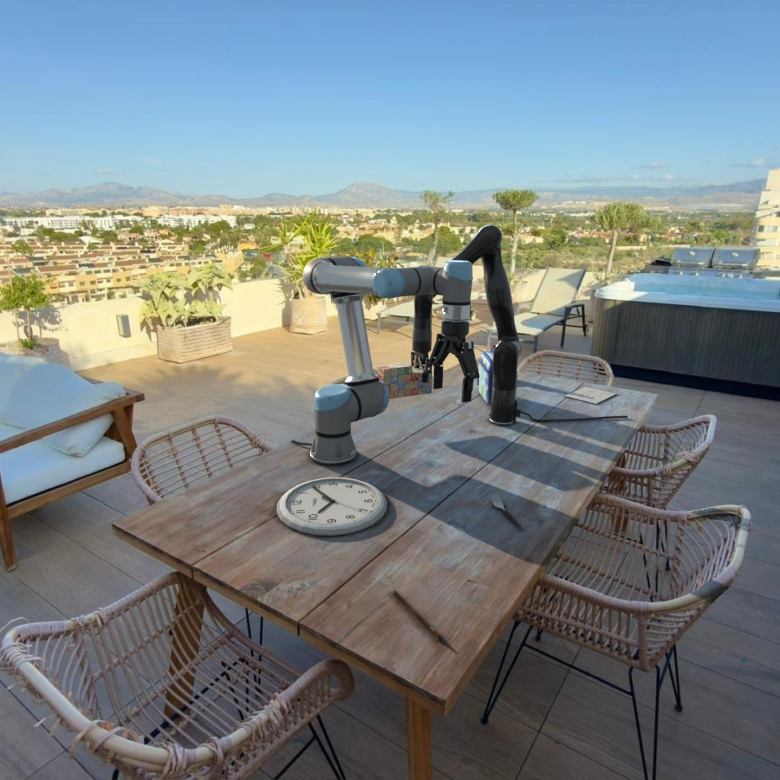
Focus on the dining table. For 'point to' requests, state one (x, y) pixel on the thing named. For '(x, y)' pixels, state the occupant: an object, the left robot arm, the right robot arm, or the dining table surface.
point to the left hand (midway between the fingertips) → (451, 394)
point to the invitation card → (590, 395)
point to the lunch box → (486, 376)
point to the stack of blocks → (403, 380)
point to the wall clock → (331, 506)
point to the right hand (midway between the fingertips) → (420, 380)
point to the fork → (500, 505)
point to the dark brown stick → (416, 614)
